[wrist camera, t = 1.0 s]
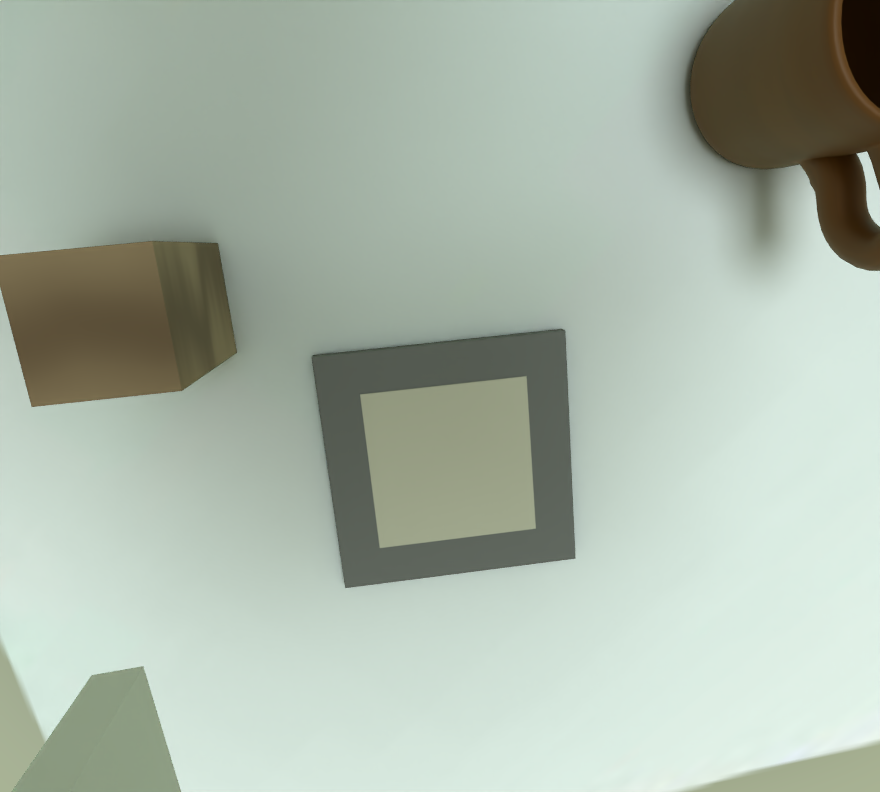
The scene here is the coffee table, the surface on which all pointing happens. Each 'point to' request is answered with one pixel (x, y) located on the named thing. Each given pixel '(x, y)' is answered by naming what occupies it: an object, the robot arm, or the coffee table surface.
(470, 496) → the mat
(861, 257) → the mug
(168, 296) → the walnut block
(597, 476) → the coffee table surface
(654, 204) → the coffee table surface
